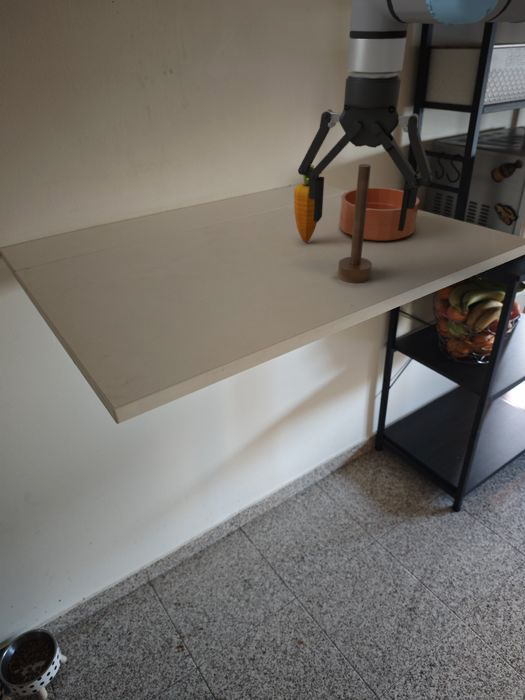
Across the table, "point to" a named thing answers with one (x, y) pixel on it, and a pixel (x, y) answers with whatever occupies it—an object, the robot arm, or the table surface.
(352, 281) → the dark brown rod
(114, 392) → the table surface
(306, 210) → the carrot
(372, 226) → the bowl
